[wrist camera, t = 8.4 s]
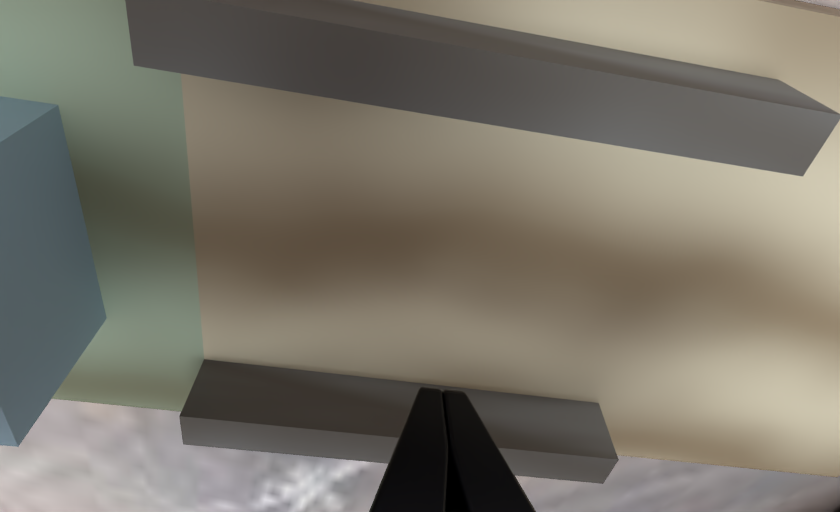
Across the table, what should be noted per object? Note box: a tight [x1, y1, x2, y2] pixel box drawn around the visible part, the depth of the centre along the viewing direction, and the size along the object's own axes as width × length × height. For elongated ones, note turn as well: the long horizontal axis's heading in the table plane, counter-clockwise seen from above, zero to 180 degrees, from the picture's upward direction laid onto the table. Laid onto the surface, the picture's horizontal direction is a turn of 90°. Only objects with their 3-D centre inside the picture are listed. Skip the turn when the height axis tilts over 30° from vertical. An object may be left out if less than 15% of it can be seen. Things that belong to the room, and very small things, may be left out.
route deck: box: [0, 0, 840, 484], centre depth 13 cm, size 14×42×4 cm, turn 80°
